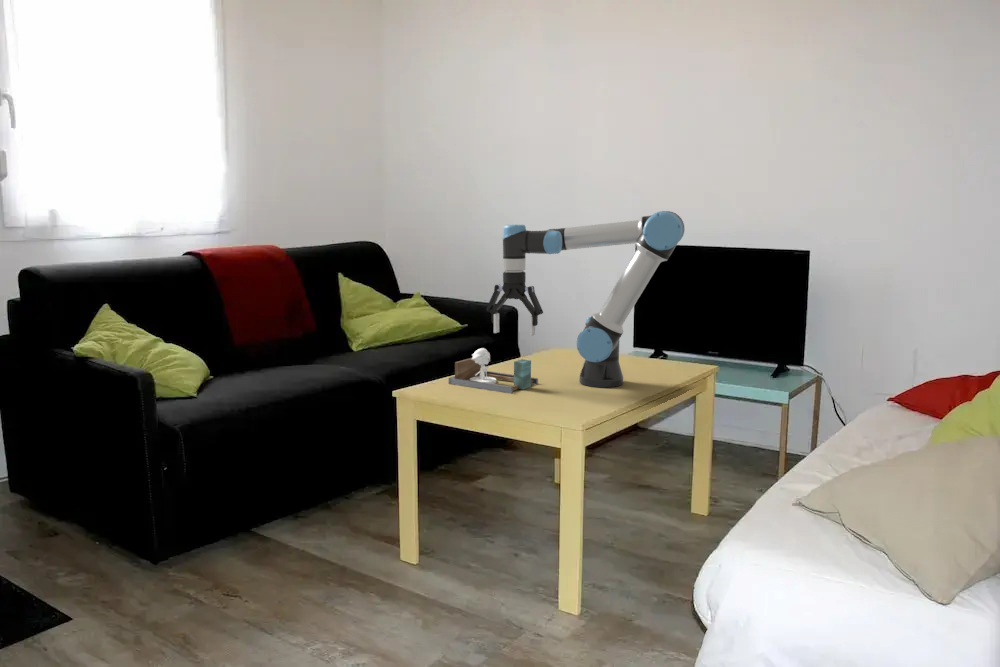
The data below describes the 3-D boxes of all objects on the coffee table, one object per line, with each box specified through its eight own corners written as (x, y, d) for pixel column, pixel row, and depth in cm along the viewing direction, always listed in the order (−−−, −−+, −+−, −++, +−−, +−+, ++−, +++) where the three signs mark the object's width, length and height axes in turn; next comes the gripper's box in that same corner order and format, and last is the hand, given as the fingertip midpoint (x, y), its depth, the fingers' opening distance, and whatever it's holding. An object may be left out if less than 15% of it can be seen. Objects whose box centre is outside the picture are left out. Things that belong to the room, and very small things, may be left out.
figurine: (496, 385, 295) (496, 350, 293) (469, 385, 295) (469, 350, 293) (496, 379, 304) (496, 346, 302) (470, 379, 304) (470, 345, 302)
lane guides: (538, 383, 298) (538, 378, 297) (510, 393, 283) (510, 387, 283) (477, 375, 311) (477, 369, 311) (448, 383, 297) (448, 377, 297)
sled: (537, 384, 296) (537, 358, 294) (515, 391, 284) (516, 364, 283) (477, 375, 309) (477, 350, 308) (454, 382, 298) (454, 356, 296)
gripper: (553, 271, 286) (552, 334, 290) (486, 268, 298) (487, 329, 301) (543, 273, 280) (543, 338, 283) (476, 270, 291) (476, 332, 294)
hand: (514, 334), depth 292 cm, fingers open, 13 cm apart
